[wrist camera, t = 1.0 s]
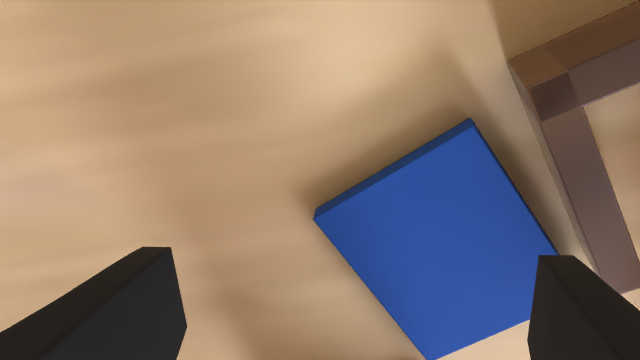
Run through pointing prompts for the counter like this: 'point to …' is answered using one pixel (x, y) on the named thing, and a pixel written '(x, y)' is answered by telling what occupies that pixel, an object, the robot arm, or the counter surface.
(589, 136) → the corner guard
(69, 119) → the counter surface
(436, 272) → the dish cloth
